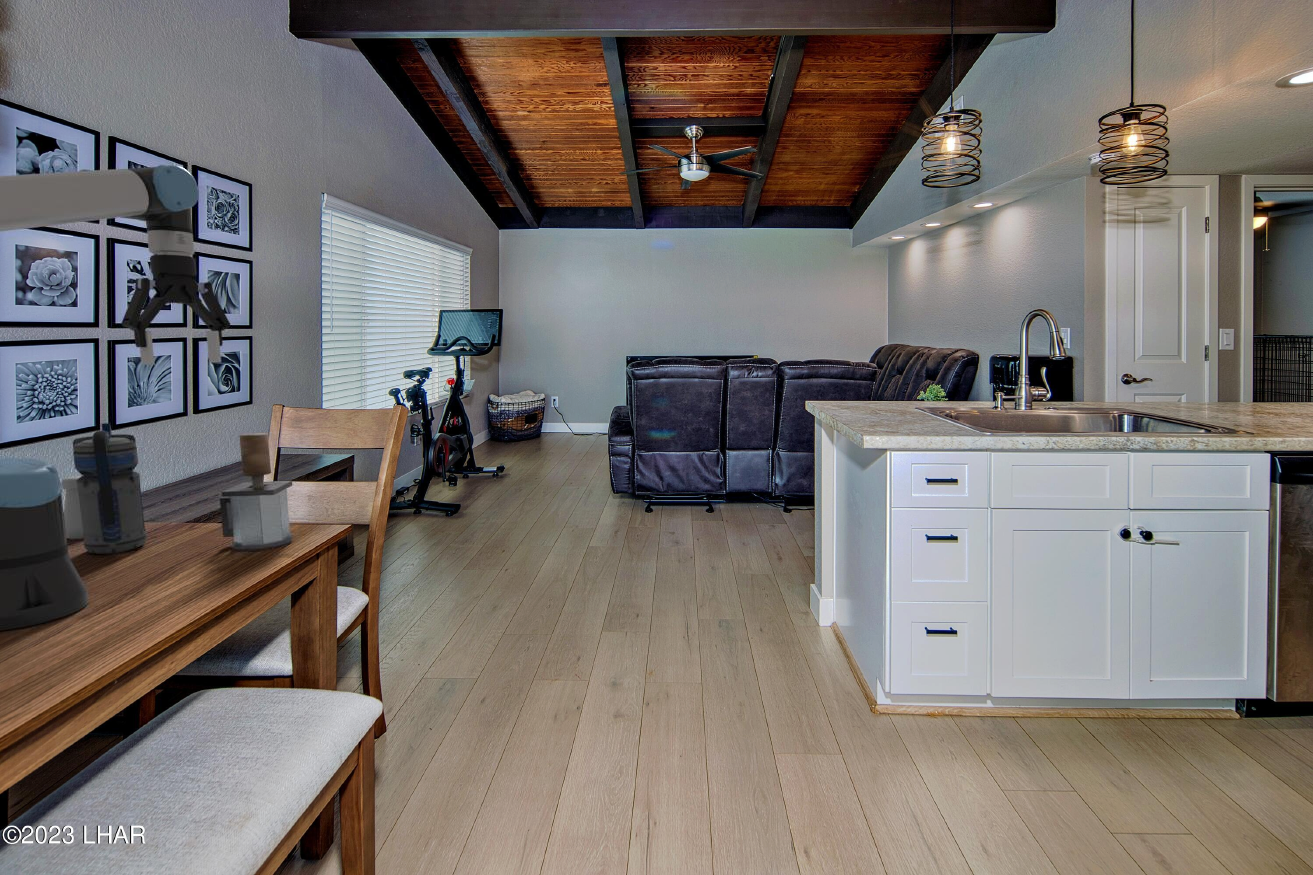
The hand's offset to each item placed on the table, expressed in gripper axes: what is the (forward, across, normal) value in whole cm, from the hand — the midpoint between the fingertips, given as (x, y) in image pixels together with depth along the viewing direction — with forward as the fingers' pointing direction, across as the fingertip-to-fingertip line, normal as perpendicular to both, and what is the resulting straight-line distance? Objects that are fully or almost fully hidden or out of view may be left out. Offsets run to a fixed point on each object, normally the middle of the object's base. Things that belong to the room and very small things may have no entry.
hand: (183, 363), depth 147 cm
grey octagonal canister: (+37, +4, -14) cm, 39 cm away
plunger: (+30, +4, -14) cm, 34 cm away
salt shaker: (+37, -7, +28) cm, 47 cm away
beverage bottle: (+37, -10, +10) cm, 40 cm away
